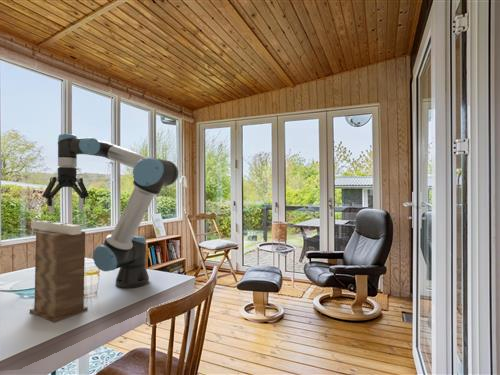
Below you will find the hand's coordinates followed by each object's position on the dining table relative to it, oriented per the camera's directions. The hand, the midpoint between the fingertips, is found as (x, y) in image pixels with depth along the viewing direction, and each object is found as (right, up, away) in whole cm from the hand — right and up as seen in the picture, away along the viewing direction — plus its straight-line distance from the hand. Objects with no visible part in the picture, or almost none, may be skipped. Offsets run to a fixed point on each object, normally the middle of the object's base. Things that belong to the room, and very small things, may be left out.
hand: (66, 212), depth 137 cm
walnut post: (+14, -35, -27) cm, 46 cm away
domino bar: (+11, -5, -25) cm, 28 cm away
